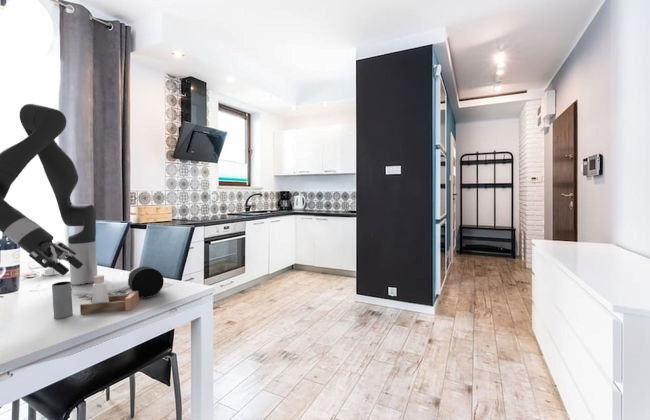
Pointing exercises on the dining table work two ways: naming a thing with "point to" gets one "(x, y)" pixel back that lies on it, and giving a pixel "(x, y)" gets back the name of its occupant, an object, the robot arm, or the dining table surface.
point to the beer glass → (51, 271)
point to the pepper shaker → (99, 290)
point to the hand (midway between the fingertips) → (73, 269)
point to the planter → (62, 299)
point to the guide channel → (112, 304)
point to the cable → (145, 281)
